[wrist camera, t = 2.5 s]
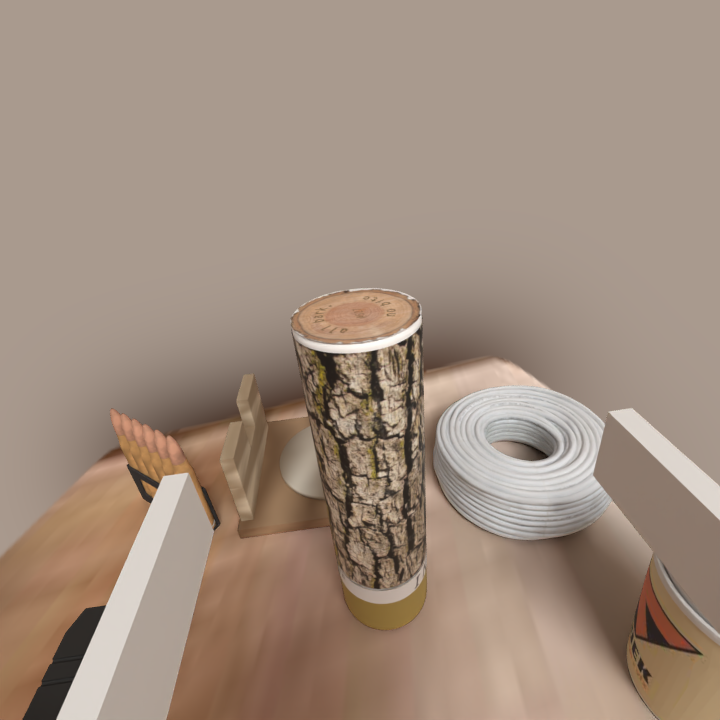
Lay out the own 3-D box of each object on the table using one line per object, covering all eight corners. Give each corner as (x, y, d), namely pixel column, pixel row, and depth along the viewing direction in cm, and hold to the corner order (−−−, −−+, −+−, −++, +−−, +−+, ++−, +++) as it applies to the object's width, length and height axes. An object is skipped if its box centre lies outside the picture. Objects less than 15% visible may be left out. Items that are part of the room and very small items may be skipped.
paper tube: (353, 646, 31) (295, 355, 18) (337, 563, 36) (285, 299, 24) (440, 621, 31) (443, 327, 19) (411, 544, 37) (399, 280, 25)
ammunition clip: (221, 524, 41) (184, 432, 35) (206, 539, 40) (165, 446, 34) (157, 486, 46) (115, 400, 40) (142, 498, 45) (96, 411, 39)
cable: (576, 420, 50) (586, 379, 47) (647, 552, 35) (667, 504, 32) (430, 421, 52) (430, 381, 49) (437, 544, 37) (437, 498, 34)
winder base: (240, 538, 40) (214, 469, 35) (260, 430, 53) (243, 370, 49) (405, 515, 40) (401, 443, 35) (382, 414, 54) (377, 353, 49)
